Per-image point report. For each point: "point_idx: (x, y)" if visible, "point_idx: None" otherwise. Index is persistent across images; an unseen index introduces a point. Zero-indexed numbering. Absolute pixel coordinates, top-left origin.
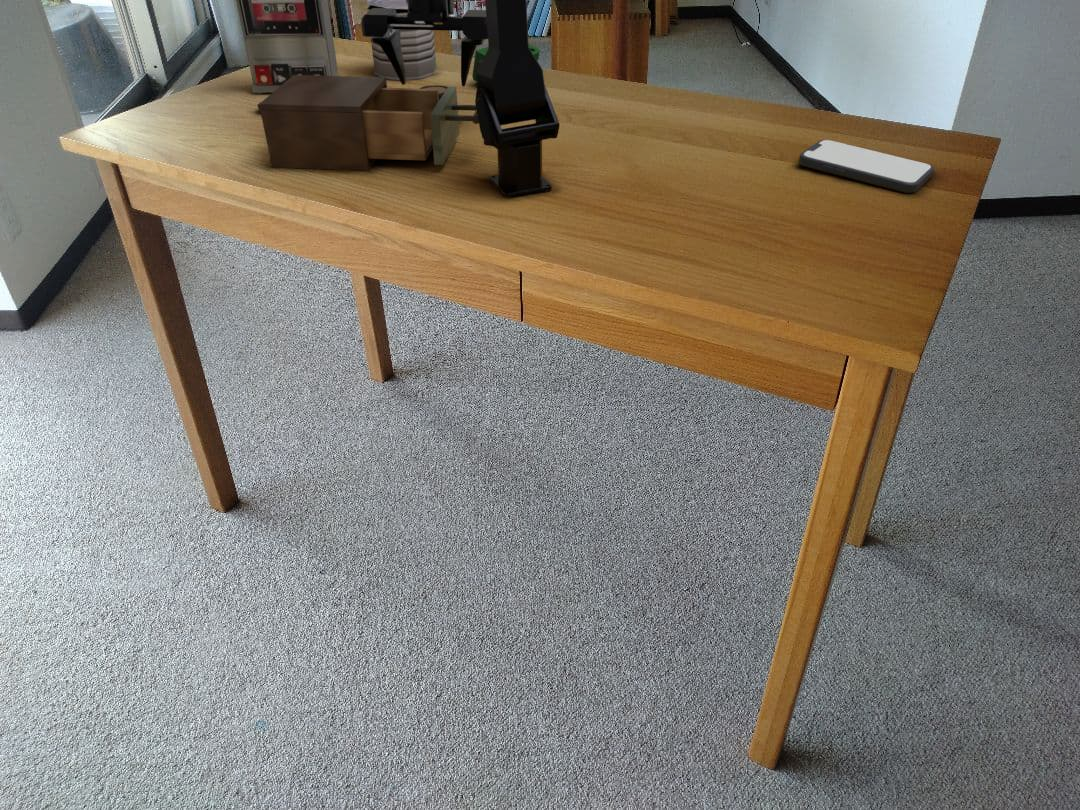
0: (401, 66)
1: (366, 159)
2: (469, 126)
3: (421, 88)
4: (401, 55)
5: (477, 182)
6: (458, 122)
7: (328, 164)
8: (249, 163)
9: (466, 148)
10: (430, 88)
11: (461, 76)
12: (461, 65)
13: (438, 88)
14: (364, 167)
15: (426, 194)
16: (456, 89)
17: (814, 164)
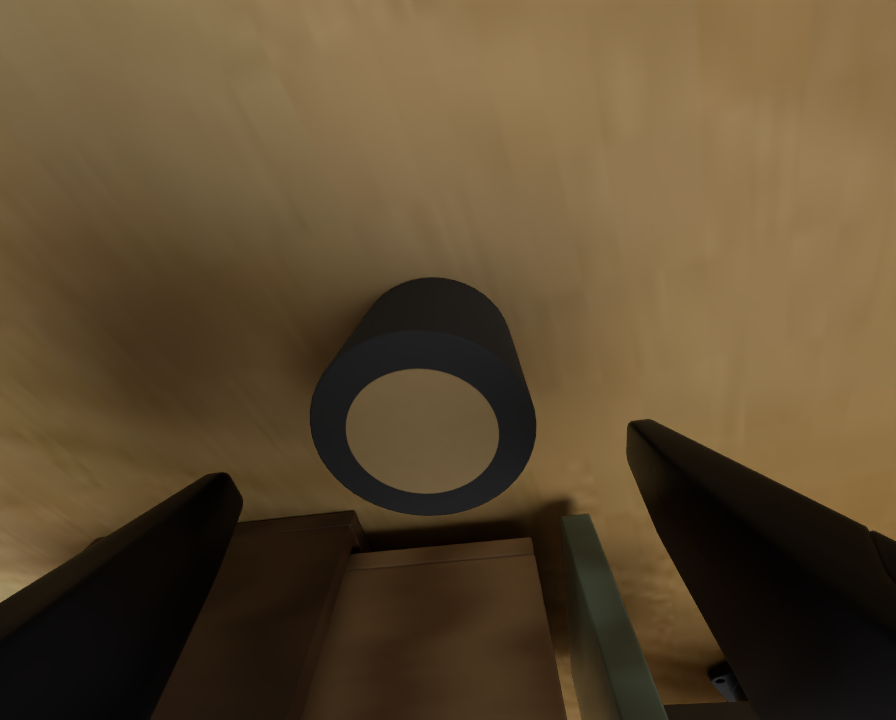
0: (157, 625)
1: None
2: (588, 364)
3: (326, 420)
4: (23, 672)
5: (675, 673)
6: (604, 554)
7: None
8: None
9: (617, 539)
10: (382, 412)
11: (666, 541)
12: (740, 676)
13: (432, 400)
14: None
15: (578, 713)
16: (667, 717)
17: None
